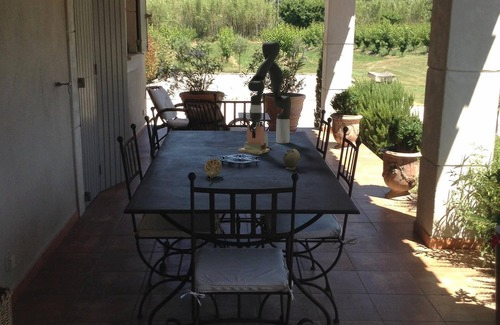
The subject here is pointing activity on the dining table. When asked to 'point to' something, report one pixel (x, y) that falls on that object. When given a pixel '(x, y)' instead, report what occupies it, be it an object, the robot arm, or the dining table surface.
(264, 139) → the ink box
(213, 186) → the dining table surface
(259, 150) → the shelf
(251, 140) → the tall salmon pink block
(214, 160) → the pine cone
